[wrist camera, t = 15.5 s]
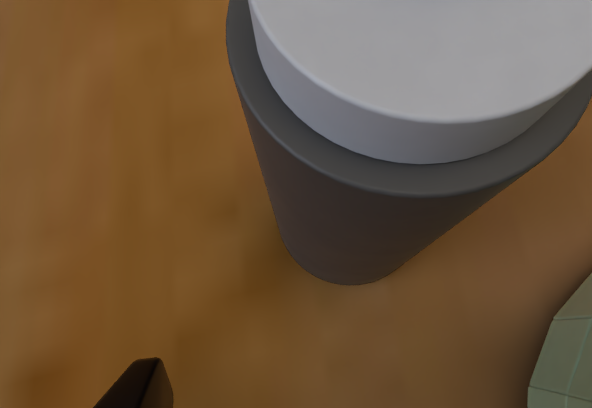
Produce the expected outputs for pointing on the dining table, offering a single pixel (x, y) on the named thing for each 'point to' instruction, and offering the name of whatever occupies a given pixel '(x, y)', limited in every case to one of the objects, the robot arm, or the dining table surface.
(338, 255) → the pepper mill
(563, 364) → the bowl
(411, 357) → the dining table surface
